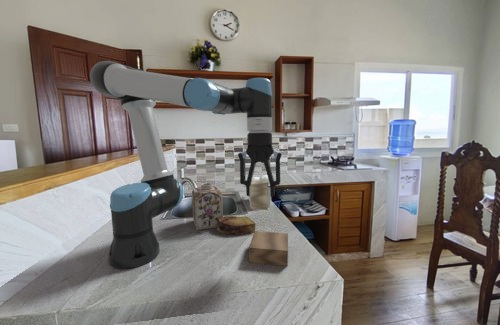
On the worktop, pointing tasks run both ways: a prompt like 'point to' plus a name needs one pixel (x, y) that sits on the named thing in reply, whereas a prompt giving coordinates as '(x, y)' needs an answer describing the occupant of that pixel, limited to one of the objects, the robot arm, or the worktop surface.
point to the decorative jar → (206, 206)
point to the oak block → (259, 195)
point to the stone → (235, 225)
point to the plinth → (269, 248)
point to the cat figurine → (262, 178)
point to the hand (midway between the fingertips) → (260, 205)
